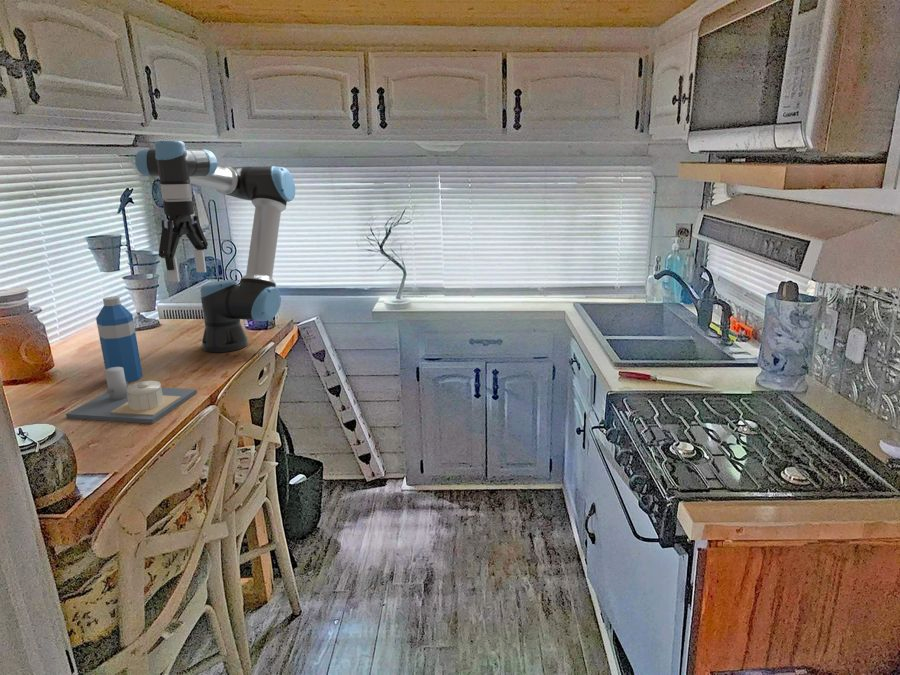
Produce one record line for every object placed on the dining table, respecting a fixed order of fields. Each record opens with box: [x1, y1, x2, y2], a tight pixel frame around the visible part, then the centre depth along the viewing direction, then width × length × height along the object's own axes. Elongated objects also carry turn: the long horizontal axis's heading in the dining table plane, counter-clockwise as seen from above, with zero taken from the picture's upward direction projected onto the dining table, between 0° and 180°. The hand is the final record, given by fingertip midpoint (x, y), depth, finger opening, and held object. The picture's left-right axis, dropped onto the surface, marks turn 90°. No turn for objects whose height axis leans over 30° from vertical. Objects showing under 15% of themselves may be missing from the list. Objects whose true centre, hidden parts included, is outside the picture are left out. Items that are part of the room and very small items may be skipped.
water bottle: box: [95, 296, 144, 384], centre depth 172 cm, size 9×9×25 cm
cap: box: [126, 380, 163, 410], centre depth 153 cm, size 8×8×6 cm
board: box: [65, 367, 198, 425], centre depth 155 cm, size 20×24×9 cm
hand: (188, 276), depth 165 cm, fingers open, 13 cm apart
